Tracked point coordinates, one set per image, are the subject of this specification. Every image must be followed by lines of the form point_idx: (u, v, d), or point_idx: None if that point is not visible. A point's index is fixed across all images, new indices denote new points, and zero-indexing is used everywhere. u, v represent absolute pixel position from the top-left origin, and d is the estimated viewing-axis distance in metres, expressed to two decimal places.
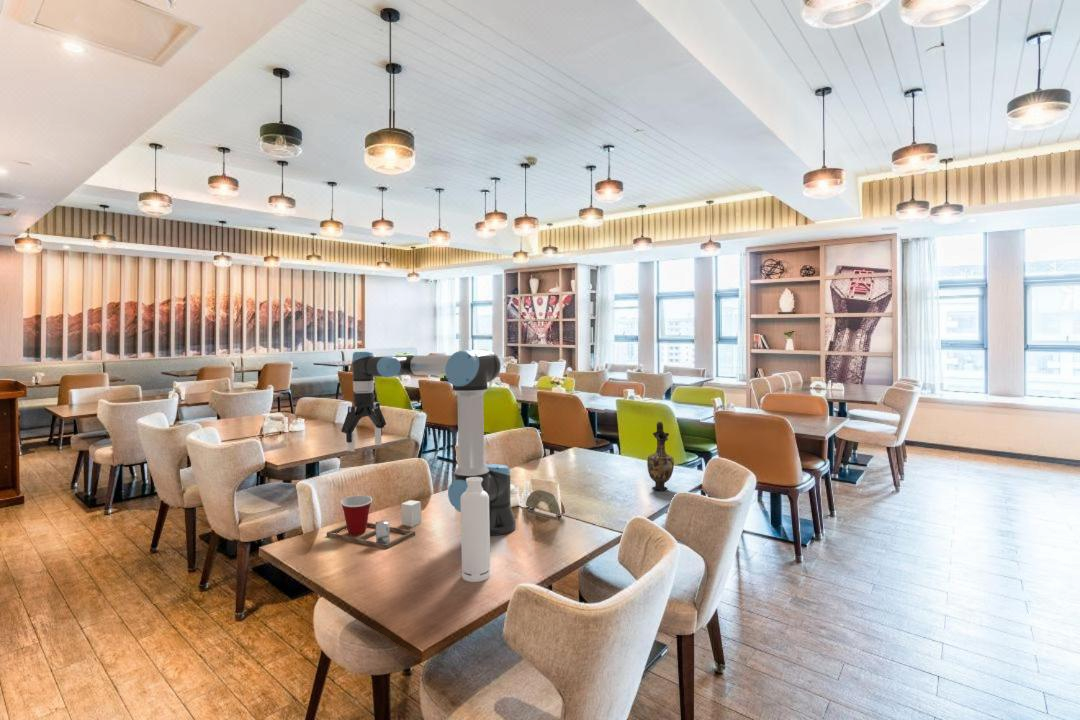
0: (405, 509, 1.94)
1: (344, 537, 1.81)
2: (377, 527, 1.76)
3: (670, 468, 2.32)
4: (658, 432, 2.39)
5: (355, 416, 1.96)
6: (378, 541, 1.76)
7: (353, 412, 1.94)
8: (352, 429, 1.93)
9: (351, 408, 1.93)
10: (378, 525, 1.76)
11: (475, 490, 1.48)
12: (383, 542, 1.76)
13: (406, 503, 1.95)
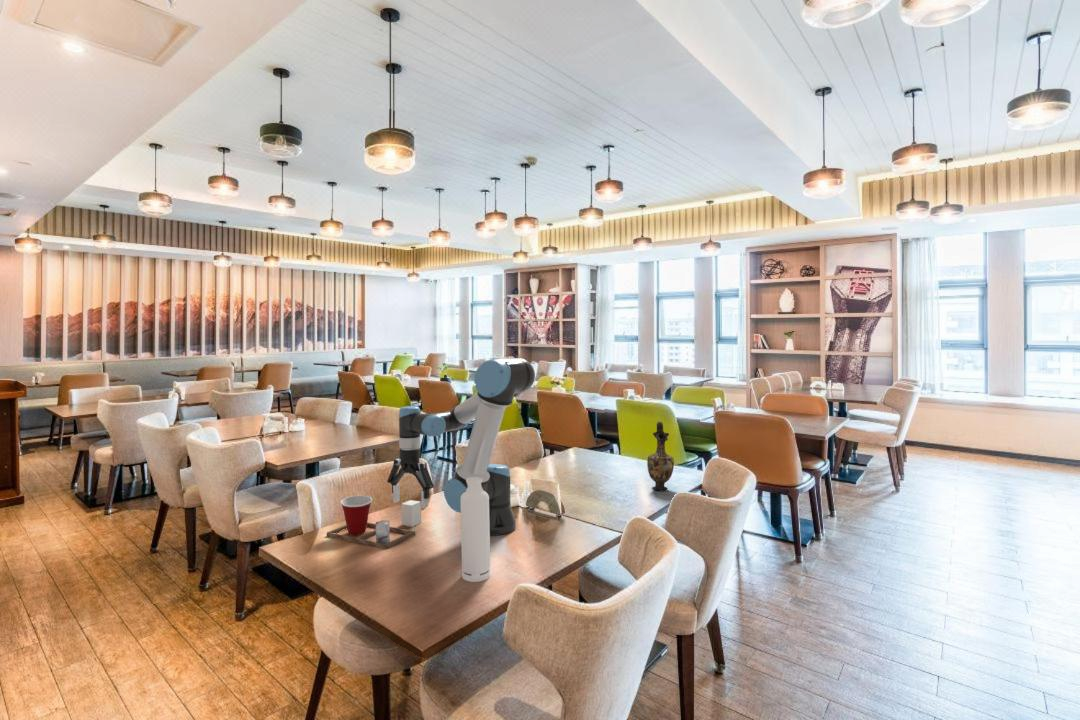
0: (405, 509, 1.94)
1: (344, 537, 1.81)
2: (377, 527, 1.76)
3: (670, 468, 2.32)
4: (658, 432, 2.39)
5: None
6: (378, 541, 1.76)
7: (394, 465, 1.98)
8: (393, 481, 1.98)
9: None
10: (378, 525, 1.76)
11: (475, 490, 1.48)
12: (383, 542, 1.76)
13: (406, 503, 1.95)
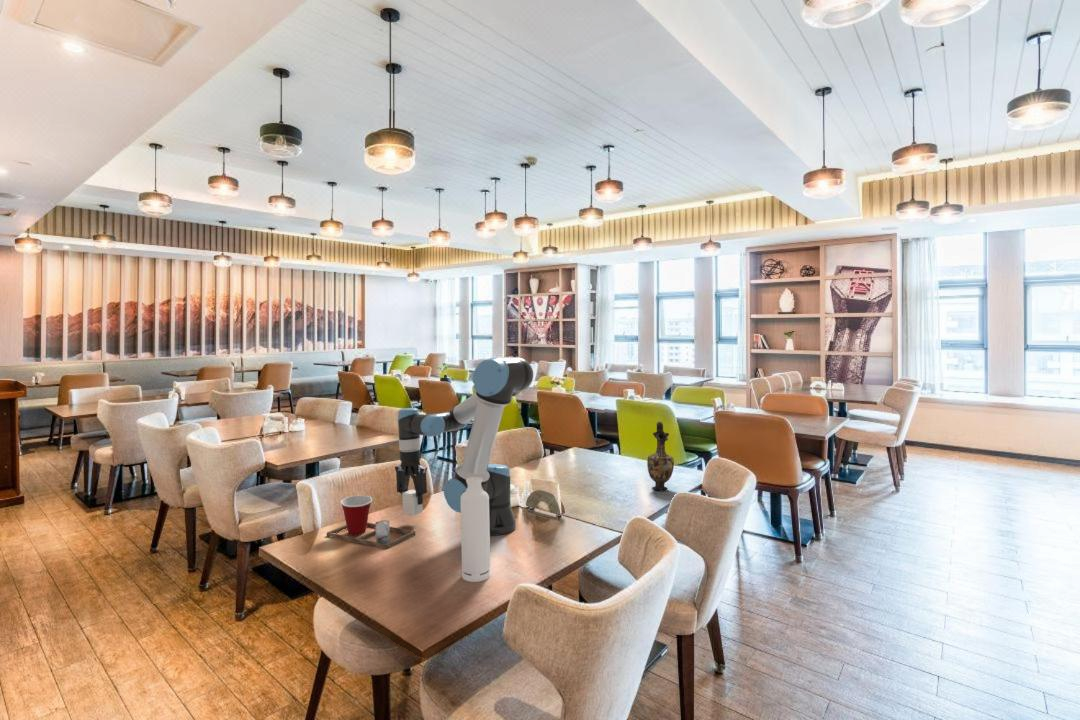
0: (406, 498, 1.94)
1: (344, 537, 1.81)
2: (377, 527, 1.76)
3: (670, 468, 2.32)
4: (658, 432, 2.39)
5: None
6: (378, 541, 1.76)
7: (397, 471, 1.97)
8: (402, 490, 1.96)
9: None
10: (378, 525, 1.76)
11: (475, 490, 1.48)
12: (383, 542, 1.76)
13: (407, 492, 1.95)
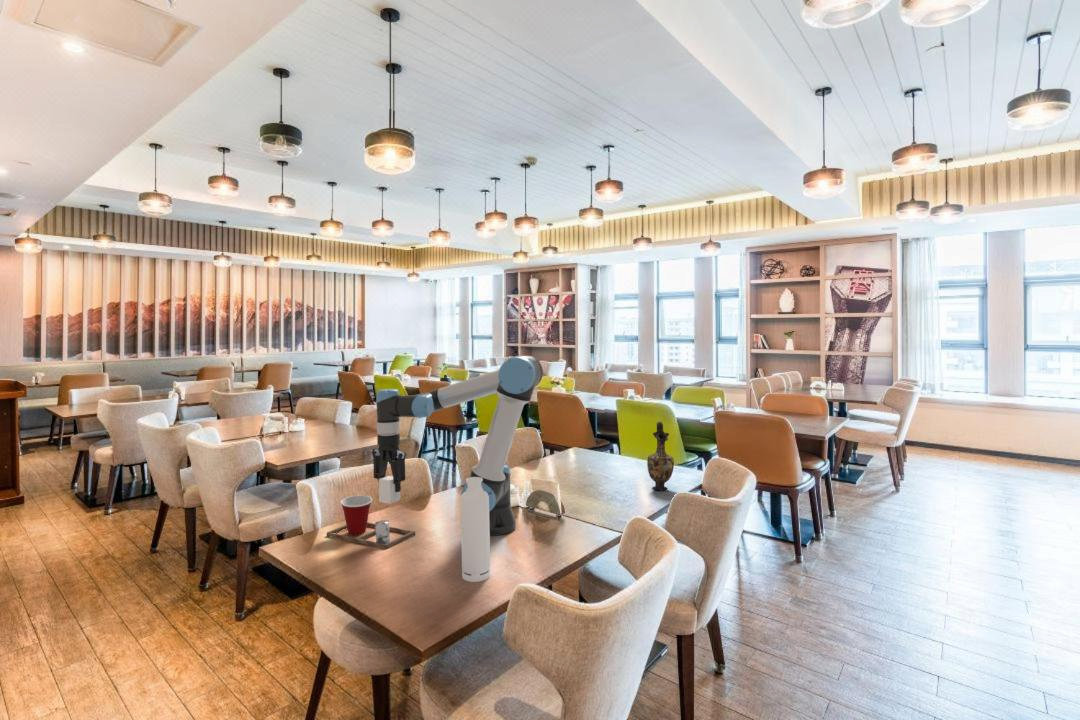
0: (383, 484, 1.82)
1: (344, 537, 1.81)
2: (377, 527, 1.76)
3: (670, 468, 2.32)
4: (658, 432, 2.39)
5: None
6: (378, 541, 1.76)
7: (374, 456, 1.85)
8: (379, 476, 1.84)
9: None
10: (378, 525, 1.76)
11: (475, 490, 1.48)
12: (383, 542, 1.76)
13: (384, 478, 1.83)
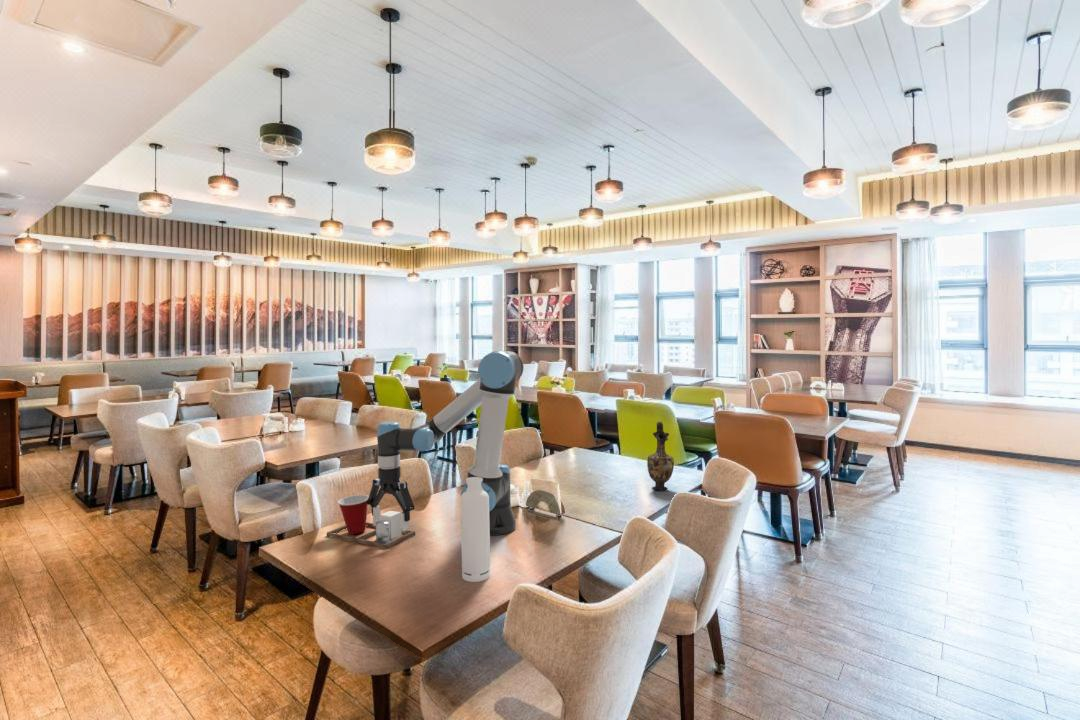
0: None
1: (344, 537, 1.81)
2: (378, 527, 1.76)
3: (670, 468, 2.32)
4: (658, 432, 2.39)
5: None
6: (378, 541, 1.76)
7: (373, 485, 1.85)
8: (373, 503, 1.86)
9: None
10: (379, 525, 1.75)
11: (475, 490, 1.48)
12: (383, 542, 1.76)
13: (385, 514, 1.83)
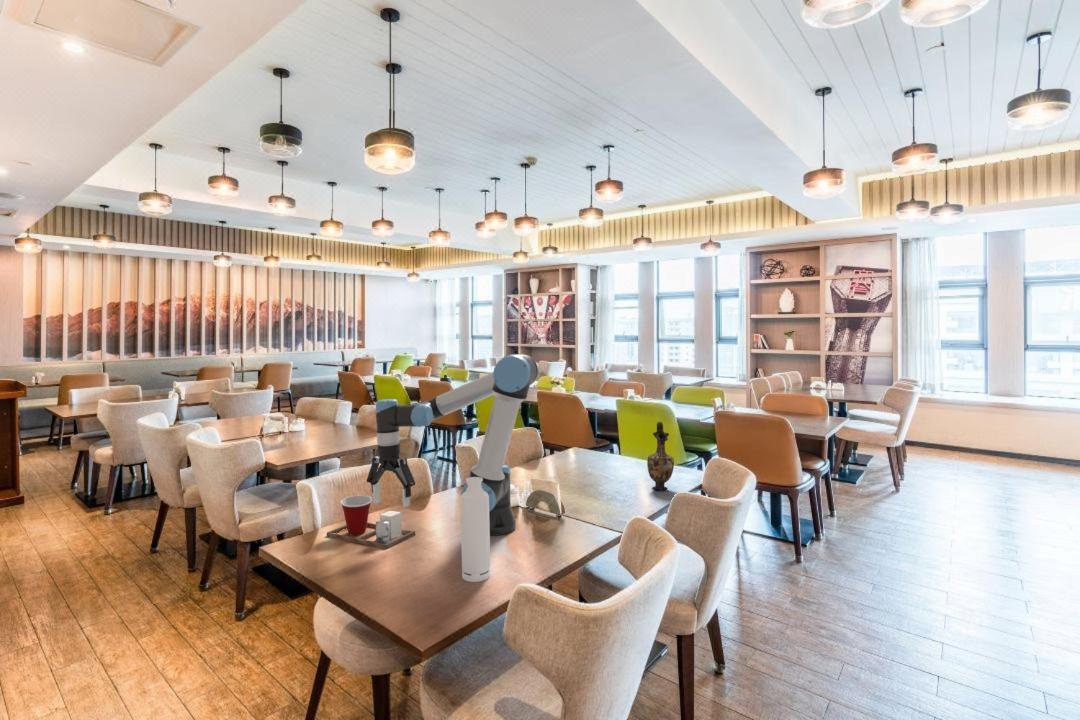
0: None
1: (344, 537, 1.81)
2: (378, 527, 1.76)
3: (670, 468, 2.32)
4: (658, 432, 2.39)
5: None
6: (378, 541, 1.76)
7: (373, 463, 1.85)
8: (372, 480, 1.86)
9: None
10: (379, 524, 1.76)
11: (475, 490, 1.48)
12: (384, 542, 1.76)
13: (385, 514, 1.83)
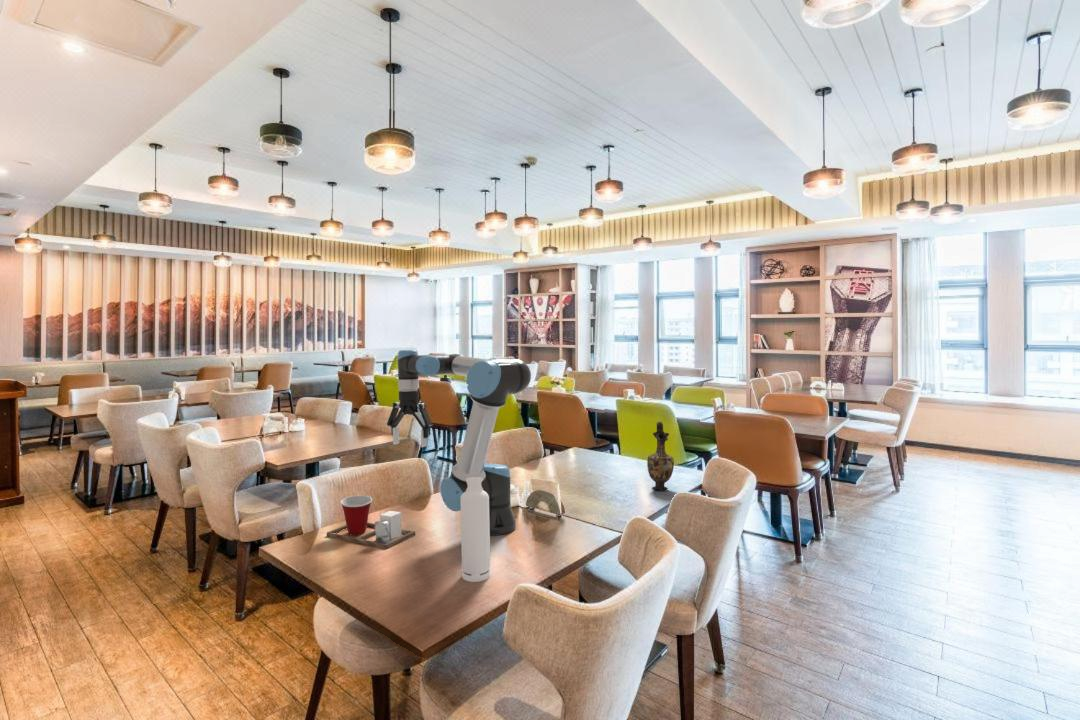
0: None
1: (344, 537, 1.81)
2: (377, 527, 1.76)
3: (670, 468, 2.32)
4: (658, 432, 2.39)
5: None
6: (379, 541, 1.76)
7: (393, 408, 2.04)
8: (393, 423, 2.04)
9: None
10: (378, 525, 1.75)
11: (475, 490, 1.48)
12: (384, 541, 1.76)
13: (385, 514, 1.83)
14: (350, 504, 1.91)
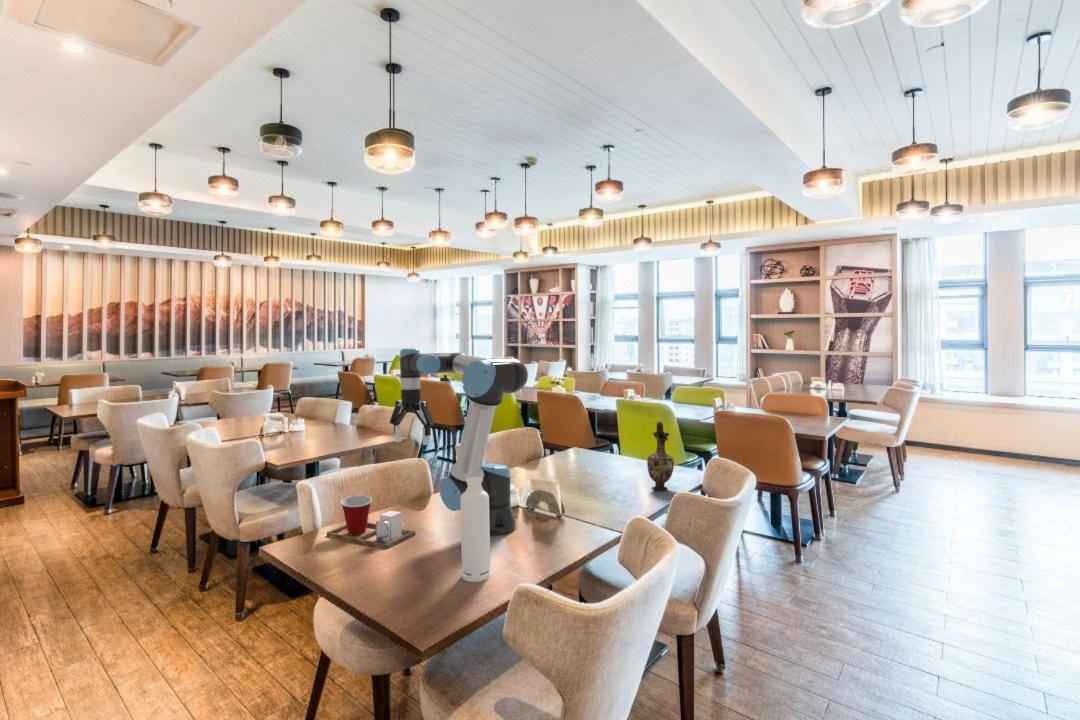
0: None
1: (344, 537, 1.81)
2: (379, 526, 1.76)
3: (670, 468, 2.32)
4: (658, 432, 2.39)
5: None
6: (379, 540, 1.76)
7: (396, 406, 2.06)
8: (395, 421, 2.06)
9: None
10: (380, 524, 1.76)
11: (475, 490, 1.48)
12: (385, 541, 1.76)
13: (385, 514, 1.83)
14: (350, 504, 1.91)
